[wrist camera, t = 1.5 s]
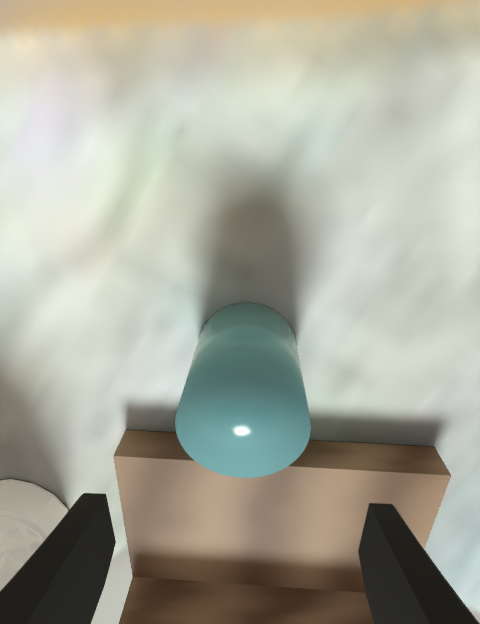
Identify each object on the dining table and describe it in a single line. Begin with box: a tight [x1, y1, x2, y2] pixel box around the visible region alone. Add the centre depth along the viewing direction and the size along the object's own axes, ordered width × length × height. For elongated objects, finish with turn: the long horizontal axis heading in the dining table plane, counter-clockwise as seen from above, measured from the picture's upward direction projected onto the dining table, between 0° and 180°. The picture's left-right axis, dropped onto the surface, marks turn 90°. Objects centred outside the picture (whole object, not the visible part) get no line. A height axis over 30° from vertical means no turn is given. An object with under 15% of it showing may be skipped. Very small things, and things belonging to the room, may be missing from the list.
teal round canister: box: [175, 303, 311, 478], centre depth 16 cm, size 5×5×6 cm
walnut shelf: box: [114, 430, 451, 624], centre depth 21 cm, size 18×12×5 cm, turn 89°
